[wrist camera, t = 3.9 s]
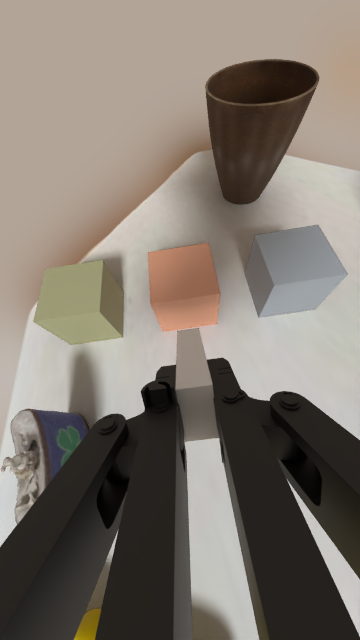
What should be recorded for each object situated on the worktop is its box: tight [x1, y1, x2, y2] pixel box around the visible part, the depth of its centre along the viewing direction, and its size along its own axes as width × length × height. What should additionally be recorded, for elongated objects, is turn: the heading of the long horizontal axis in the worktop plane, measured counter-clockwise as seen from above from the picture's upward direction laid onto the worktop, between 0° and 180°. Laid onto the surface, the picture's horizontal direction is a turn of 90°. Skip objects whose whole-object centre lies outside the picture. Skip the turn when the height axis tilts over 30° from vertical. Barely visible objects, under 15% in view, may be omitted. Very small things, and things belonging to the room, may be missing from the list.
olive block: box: [33, 260, 124, 345], centre depth 30 cm, size 8×8×8 cm
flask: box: [1, 409, 90, 525], centre depth 21 cm, size 9×3×11 cm, turn 26°
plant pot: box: [205, 59, 319, 204], centre depth 36 cm, size 15×15×16 cm
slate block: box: [245, 225, 348, 318], centre depth 29 cm, size 8×8×8 cm
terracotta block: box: [148, 243, 220, 332], centre depth 29 cm, size 8×8×8 cm
